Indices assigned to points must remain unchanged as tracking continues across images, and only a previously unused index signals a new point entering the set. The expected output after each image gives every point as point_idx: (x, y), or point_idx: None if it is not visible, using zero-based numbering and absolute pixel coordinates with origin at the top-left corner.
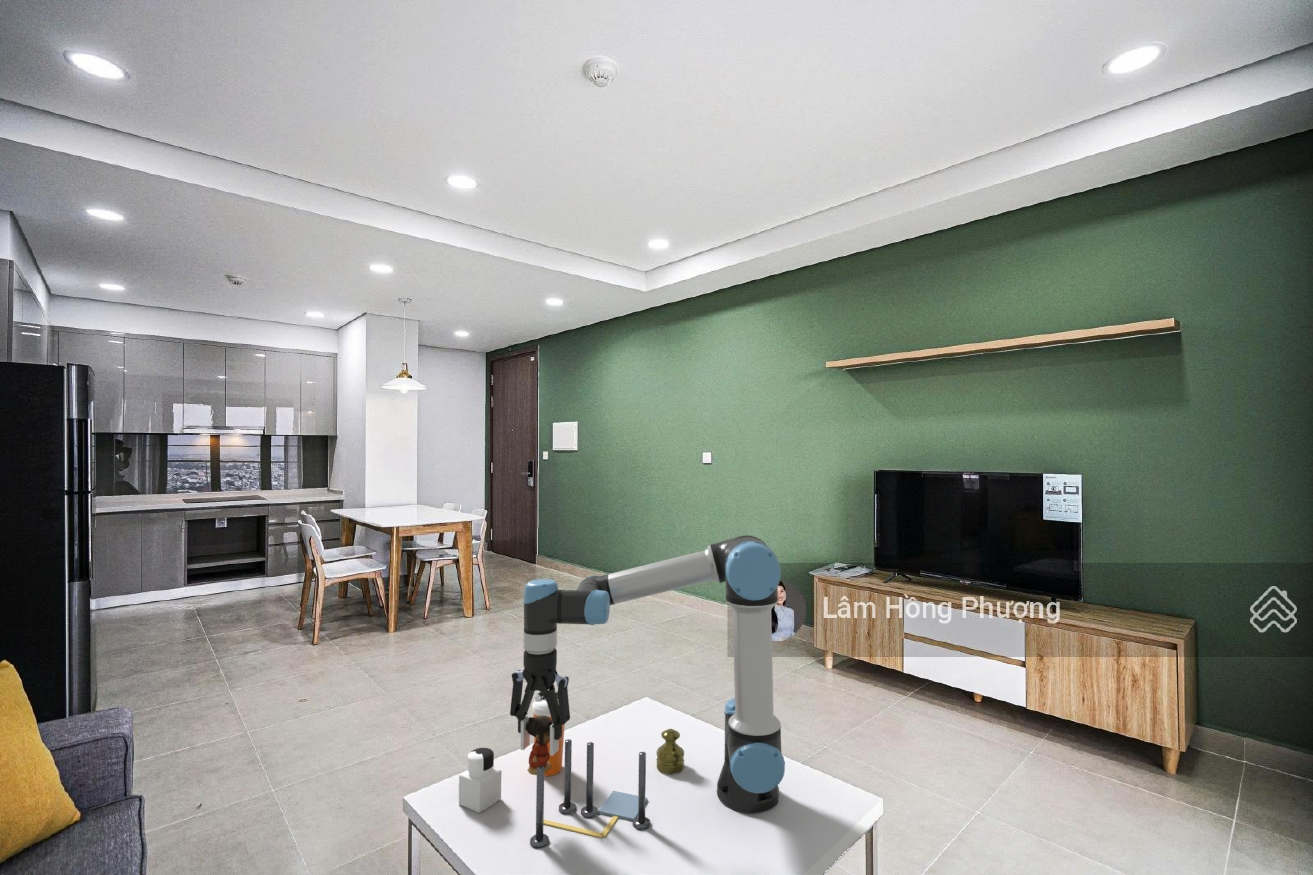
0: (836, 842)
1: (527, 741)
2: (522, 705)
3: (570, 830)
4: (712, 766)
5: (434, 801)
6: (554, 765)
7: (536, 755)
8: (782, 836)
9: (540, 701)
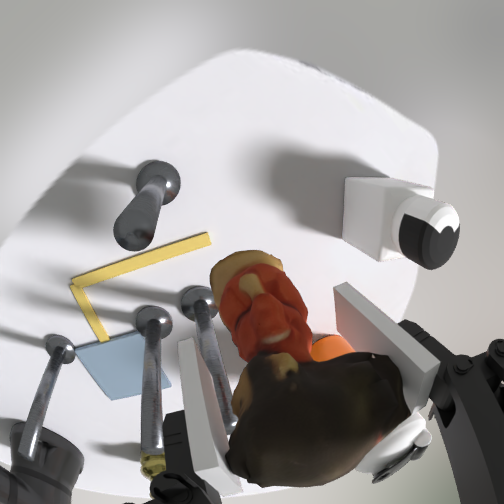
0: None
1: (347, 328)
2: (499, 433)
3: (135, 256)
4: (124, 470)
5: (423, 163)
6: None
7: (253, 300)
8: None
9: (413, 439)
